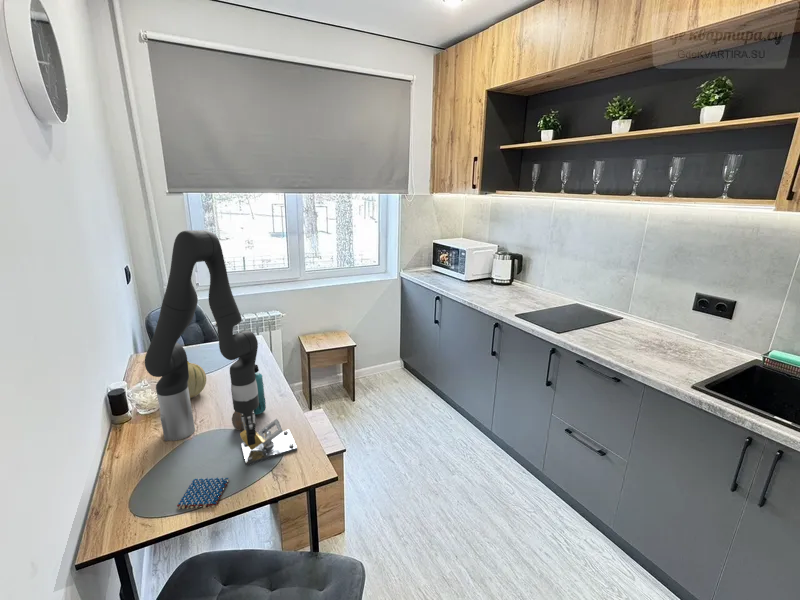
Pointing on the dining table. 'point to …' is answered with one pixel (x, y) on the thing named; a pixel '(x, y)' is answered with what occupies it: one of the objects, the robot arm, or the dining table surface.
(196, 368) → the cantaloupe
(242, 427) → the vase
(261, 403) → the beverage bottle
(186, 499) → the woven mat
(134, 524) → the dining table surface
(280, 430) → the end link
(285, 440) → the toggle switch
